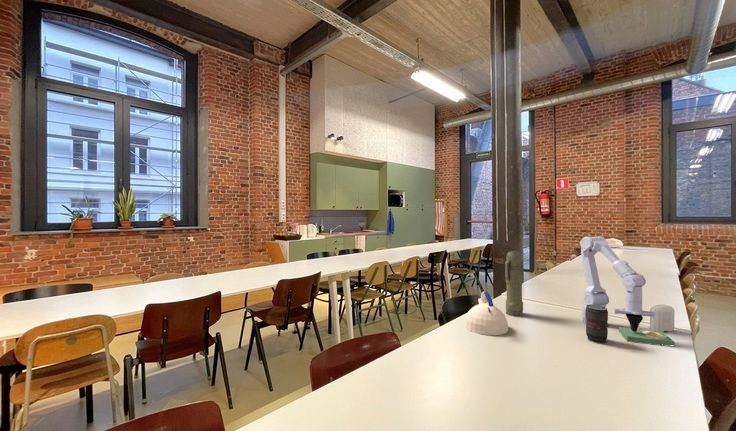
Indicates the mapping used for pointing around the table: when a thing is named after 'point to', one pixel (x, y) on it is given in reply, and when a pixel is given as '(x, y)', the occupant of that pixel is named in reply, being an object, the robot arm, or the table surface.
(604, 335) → the camera lens
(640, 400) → the table surface
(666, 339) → the mat
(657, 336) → the ball
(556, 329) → the table surface
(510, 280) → the thermos
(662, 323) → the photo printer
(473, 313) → the kettle
